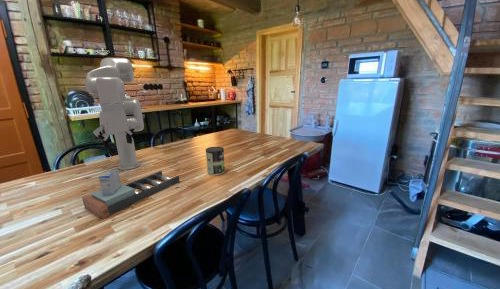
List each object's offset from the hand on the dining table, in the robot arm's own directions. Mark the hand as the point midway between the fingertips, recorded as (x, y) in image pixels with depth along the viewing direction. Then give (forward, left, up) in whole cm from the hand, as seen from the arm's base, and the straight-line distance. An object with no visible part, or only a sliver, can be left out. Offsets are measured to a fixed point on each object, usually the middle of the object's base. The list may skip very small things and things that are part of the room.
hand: (119, 145), depth 98 cm
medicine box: (+3, -8, -18) cm, 20 cm away
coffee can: (+20, +41, -24) cm, 52 cm away
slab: (+4, -8, -21) cm, 23 cm away
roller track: (+4, +2, -24) cm, 24 cm away
